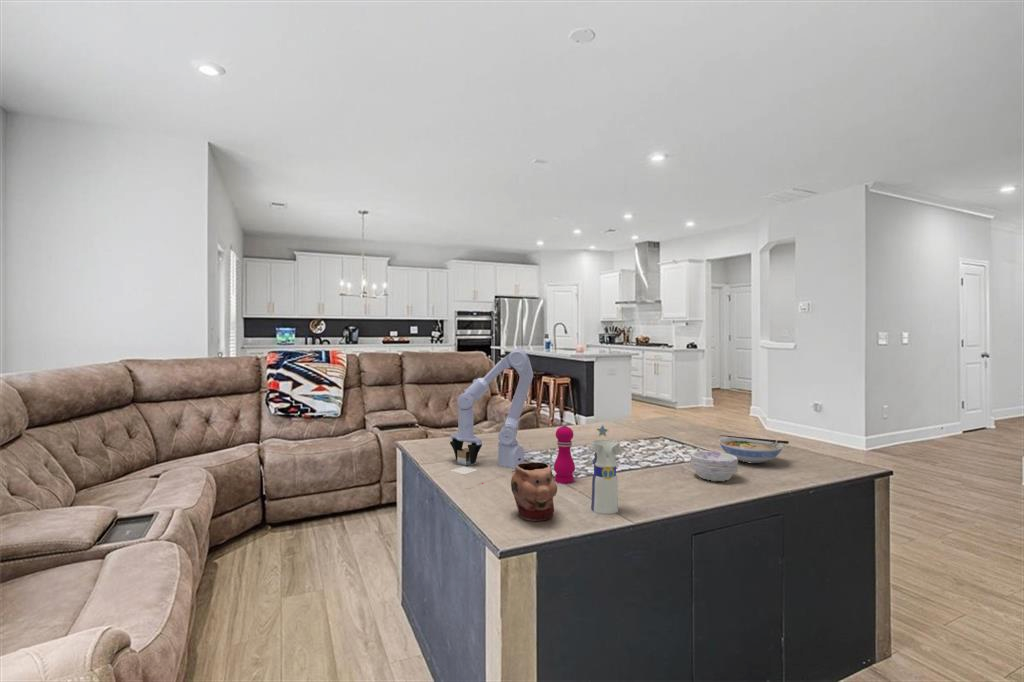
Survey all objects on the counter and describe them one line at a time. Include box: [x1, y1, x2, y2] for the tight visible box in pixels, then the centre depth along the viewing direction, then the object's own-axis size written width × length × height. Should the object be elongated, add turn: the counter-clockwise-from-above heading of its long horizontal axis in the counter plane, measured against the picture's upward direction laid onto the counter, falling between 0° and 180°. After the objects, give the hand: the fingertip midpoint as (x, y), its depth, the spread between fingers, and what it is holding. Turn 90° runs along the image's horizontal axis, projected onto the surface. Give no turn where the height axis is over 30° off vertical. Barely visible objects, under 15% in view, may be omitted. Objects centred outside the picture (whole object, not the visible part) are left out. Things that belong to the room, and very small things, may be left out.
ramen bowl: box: [718, 434, 790, 464], centre depth 195 cm, size 25×23×8 cm
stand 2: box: [450, 466, 478, 475], centre depth 178 cm, size 7×7×1 cm
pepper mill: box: [553, 421, 576, 484], centre depth 170 cm, size 7×7×20 cm
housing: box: [456, 447, 471, 465], centre depth 187 cm, size 4×4×5 cm
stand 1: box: [452, 461, 479, 468], centre depth 187 cm, size 7×7×1 cm
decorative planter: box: [510, 461, 558, 522], centre depth 139 cm, size 20×12×14 cm, turn 23°
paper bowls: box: [689, 450, 739, 482], centre depth 174 cm, size 15×15×8 cm
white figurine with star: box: [590, 424, 622, 515], centre depth 143 cm, size 8×9×25 cm
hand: (465, 461), depth 187 cm, fingers open, 7 cm apart
